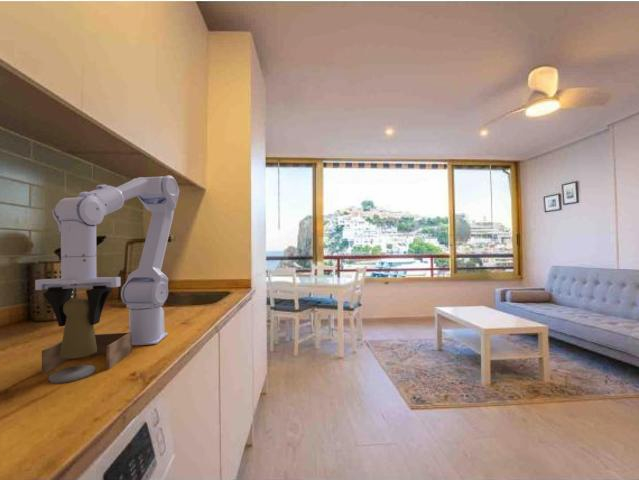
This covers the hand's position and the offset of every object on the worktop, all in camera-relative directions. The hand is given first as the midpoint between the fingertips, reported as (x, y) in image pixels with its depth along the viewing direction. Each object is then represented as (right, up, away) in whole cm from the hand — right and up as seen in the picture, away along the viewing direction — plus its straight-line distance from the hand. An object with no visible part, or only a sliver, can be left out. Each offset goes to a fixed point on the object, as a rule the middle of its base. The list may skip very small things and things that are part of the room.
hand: (79, 324), depth 64 cm
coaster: (+1, -9, -3) cm, 9 cm away
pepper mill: (0, -6, 0) cm, 6 cm away
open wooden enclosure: (0, -9, +4) cm, 10 cm away
